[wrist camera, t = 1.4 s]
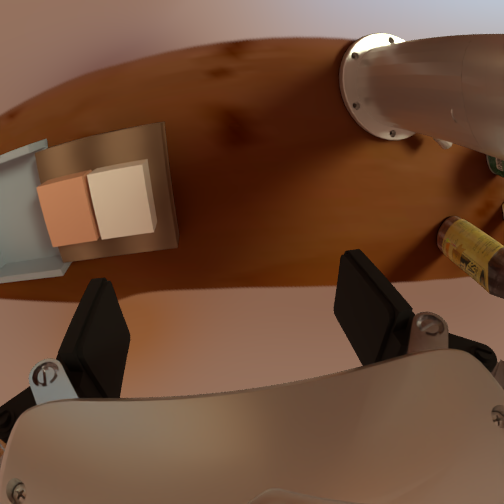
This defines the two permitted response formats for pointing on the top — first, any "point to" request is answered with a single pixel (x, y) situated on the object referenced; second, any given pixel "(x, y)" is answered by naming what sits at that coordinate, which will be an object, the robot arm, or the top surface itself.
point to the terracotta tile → (68, 209)
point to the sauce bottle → (473, 253)
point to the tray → (24, 220)
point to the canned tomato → (495, 165)
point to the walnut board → (111, 153)
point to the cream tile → (123, 199)
